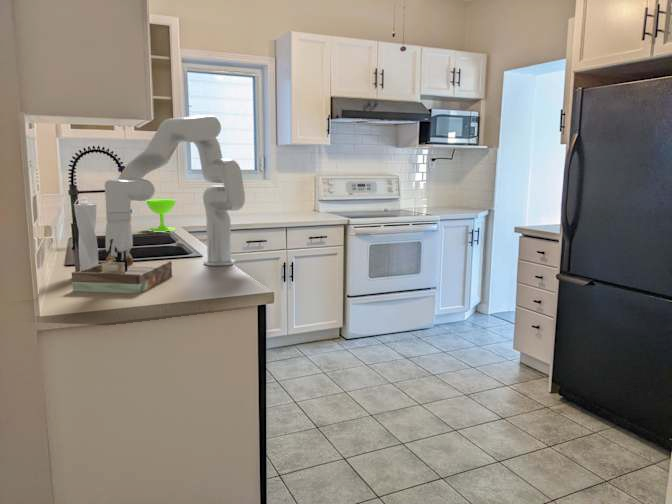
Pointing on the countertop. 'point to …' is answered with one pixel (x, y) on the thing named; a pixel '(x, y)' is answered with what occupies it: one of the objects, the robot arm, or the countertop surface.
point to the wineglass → (161, 211)
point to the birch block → (114, 267)
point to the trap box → (120, 279)
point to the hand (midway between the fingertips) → (121, 271)
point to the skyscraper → (86, 235)
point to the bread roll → (129, 259)
